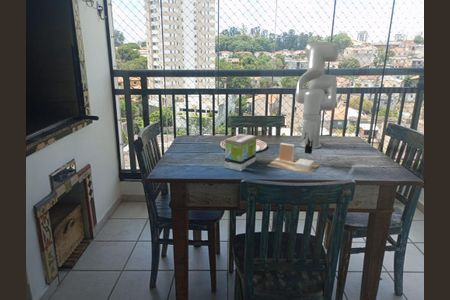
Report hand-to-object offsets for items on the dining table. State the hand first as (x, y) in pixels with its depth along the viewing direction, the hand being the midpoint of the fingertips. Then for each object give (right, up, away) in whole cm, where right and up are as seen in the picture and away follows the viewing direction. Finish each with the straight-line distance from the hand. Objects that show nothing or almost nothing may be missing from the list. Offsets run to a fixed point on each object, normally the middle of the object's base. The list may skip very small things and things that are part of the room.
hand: (308, 153), depth 161 cm
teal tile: (-1, -4, 0) cm, 4 cm away
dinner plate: (-31, +2, +31) cm, 43 cm away
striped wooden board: (-7, -7, 0) cm, 10 cm away
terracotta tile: (-10, -4, +6) cm, 12 cm away
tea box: (-34, -7, +3) cm, 34 cm away
